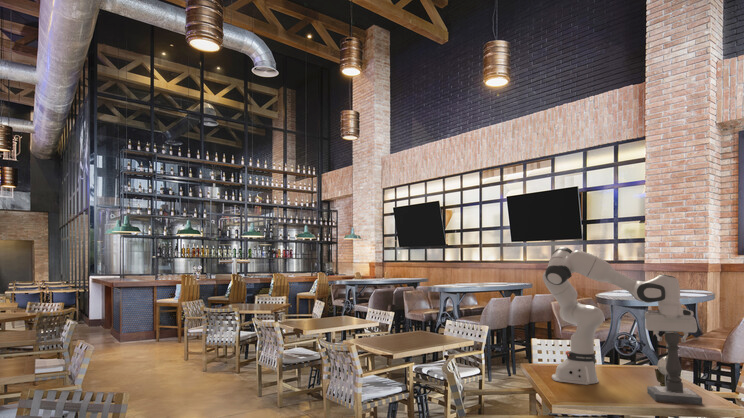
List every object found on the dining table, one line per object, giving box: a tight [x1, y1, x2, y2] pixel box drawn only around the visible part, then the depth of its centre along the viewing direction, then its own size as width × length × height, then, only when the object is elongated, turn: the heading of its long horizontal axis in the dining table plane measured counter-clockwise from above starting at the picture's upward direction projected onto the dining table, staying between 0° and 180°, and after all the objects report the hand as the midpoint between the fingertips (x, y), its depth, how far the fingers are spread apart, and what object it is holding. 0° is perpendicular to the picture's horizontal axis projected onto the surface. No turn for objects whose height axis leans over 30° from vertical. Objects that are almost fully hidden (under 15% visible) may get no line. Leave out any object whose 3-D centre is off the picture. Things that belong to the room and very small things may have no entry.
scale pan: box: [653, 385, 697, 397], centre depth 217 cm, size 14×11×1 cm
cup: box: [654, 367, 665, 386], centre depth 239 cm, size 8×7×8 cm
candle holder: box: [664, 331, 684, 392], centre depth 218 cm, size 6×6×25 cm
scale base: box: [646, 356, 703, 406], centre depth 219 cm, size 18×14×18 cm
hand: (671, 341), depth 219 cm, fingers open, 8 cm apart
